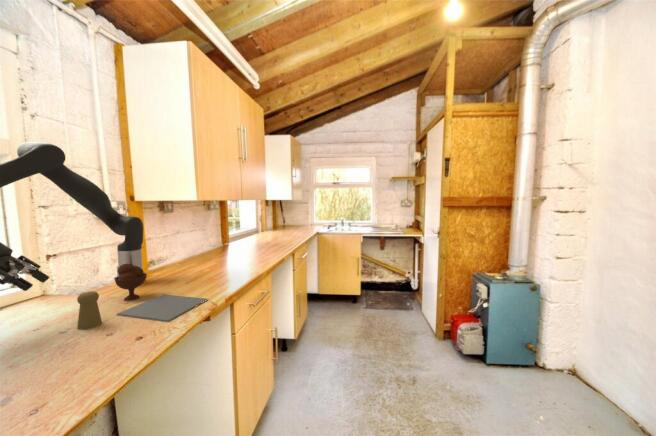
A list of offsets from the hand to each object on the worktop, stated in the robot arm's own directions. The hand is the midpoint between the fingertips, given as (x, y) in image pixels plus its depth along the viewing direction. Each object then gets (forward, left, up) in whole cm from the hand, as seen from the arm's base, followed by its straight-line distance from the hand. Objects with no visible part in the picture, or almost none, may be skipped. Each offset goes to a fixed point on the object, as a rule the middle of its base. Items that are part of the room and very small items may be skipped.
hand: (38, 283), depth 80 cm
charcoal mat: (+21, +25, -15) cm, 36 cm away
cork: (+9, +7, -16) cm, 19 cm away
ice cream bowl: (0, +29, -16) cm, 33 cm away
